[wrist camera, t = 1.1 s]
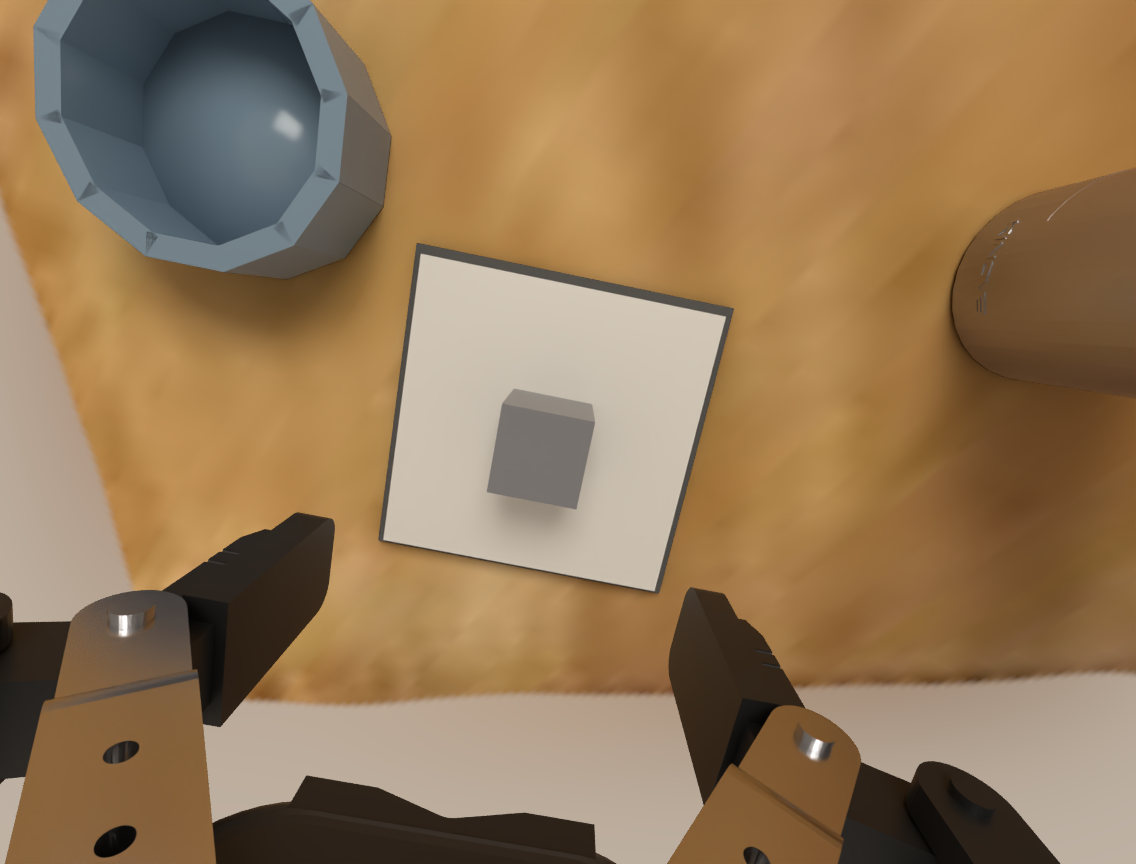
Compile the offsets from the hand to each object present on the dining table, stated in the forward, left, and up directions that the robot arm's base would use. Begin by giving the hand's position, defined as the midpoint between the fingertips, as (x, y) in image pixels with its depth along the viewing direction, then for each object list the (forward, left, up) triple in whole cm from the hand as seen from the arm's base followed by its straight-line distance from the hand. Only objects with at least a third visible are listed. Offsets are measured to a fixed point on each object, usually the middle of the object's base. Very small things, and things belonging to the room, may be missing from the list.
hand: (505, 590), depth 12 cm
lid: (0, 0, -17) cm, 17 cm away
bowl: (+16, -11, -17) cm, 26 cm away
